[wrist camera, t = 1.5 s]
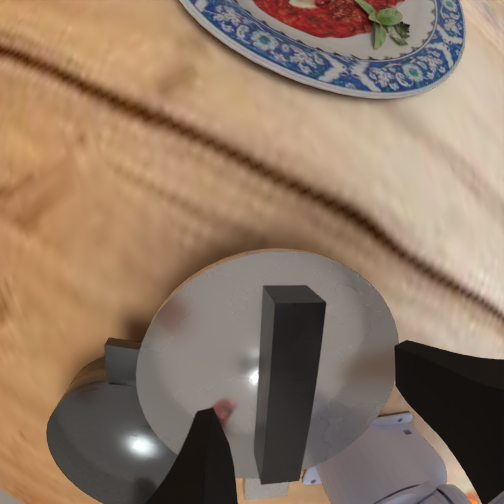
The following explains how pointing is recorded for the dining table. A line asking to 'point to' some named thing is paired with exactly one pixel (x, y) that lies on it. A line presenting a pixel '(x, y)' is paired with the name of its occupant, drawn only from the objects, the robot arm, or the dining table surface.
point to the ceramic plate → (344, 41)
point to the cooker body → (108, 431)
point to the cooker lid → (270, 361)
